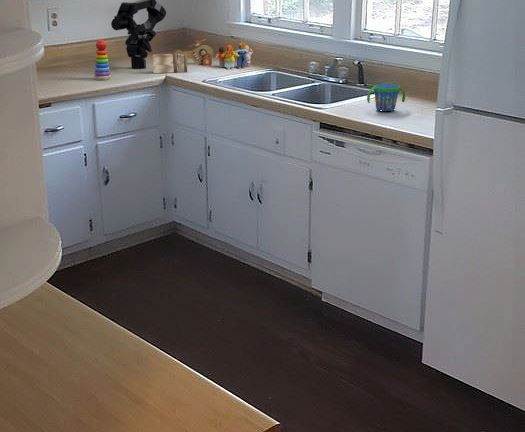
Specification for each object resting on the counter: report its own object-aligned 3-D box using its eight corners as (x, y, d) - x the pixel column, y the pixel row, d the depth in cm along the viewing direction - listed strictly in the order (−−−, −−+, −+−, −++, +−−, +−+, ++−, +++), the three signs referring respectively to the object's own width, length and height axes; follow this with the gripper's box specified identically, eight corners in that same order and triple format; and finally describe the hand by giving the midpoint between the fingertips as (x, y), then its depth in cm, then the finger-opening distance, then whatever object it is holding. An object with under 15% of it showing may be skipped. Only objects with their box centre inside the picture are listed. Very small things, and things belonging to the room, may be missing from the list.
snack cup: (401, 107, 337) (403, 83, 333) (407, 113, 327) (408, 88, 323) (364, 107, 336) (365, 83, 332) (368, 113, 326) (370, 88, 323)
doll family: (251, 65, 426) (251, 40, 421) (259, 68, 418) (259, 42, 413) (214, 68, 417) (213, 42, 413) (221, 71, 409) (221, 45, 405)
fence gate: (177, 71, 405) (176, 53, 401) (177, 72, 403) (177, 53, 400) (153, 72, 402) (152, 54, 398) (153, 73, 400) (152, 54, 397)
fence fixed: (178, 72, 403) (177, 53, 400) (178, 72, 405) (177, 53, 401) (187, 72, 404) (187, 53, 401) (186, 71, 406) (186, 52, 402)
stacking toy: (97, 81, 387) (94, 41, 380) (92, 78, 393) (89, 39, 386) (113, 79, 390) (110, 40, 383) (108, 76, 397) (105, 38, 390)
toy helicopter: (214, 66, 422) (213, 40, 418) (174, 67, 420) (173, 40, 415) (213, 63, 430) (212, 37, 425) (173, 64, 428) (172, 38, 423)
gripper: (128, 18, 389) (147, 43, 388) (152, 13, 404) (171, 38, 403) (116, 33, 395) (135, 58, 394) (140, 28, 410) (159, 52, 409)
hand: (151, 51), depth 400 cm, fingers closed
